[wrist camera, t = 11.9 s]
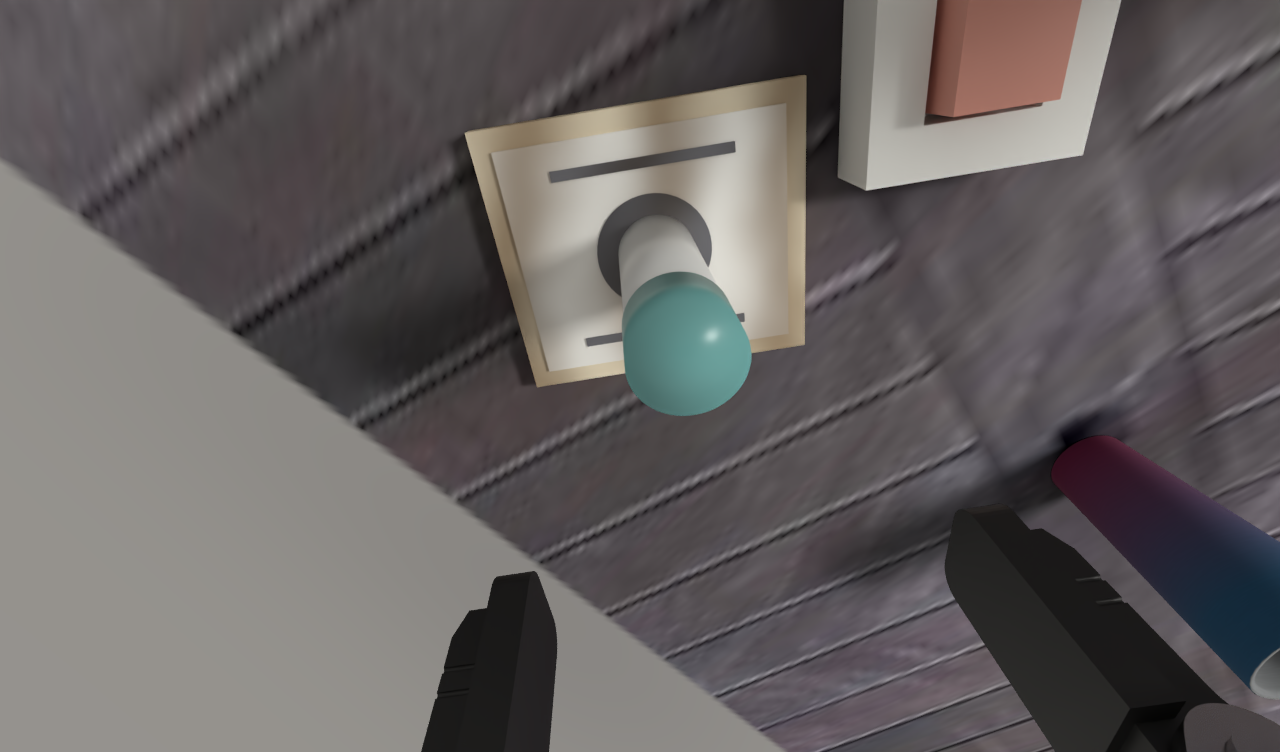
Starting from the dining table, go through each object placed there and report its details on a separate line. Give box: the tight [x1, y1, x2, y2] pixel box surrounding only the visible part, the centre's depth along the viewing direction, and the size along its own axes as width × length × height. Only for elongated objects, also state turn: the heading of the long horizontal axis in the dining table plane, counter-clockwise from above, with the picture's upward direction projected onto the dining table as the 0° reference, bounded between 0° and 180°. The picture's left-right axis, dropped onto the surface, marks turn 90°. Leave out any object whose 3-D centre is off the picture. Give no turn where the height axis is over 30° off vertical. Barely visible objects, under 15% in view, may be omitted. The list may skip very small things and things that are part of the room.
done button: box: [925, 0, 1082, 117], centre depth 22 cm, size 4×4×3 cm
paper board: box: [465, 75, 806, 387], centre depth 29 cm, size 16×14×1 cm
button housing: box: [838, 0, 1121, 191], centre depth 24 cm, size 10×10×4 cm
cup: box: [1051, 435, 1280, 699], centre depth 33 cm, size 7×7×15 cm
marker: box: [618, 215, 751, 416], centre depth 23 cm, size 4×4×12 cm
